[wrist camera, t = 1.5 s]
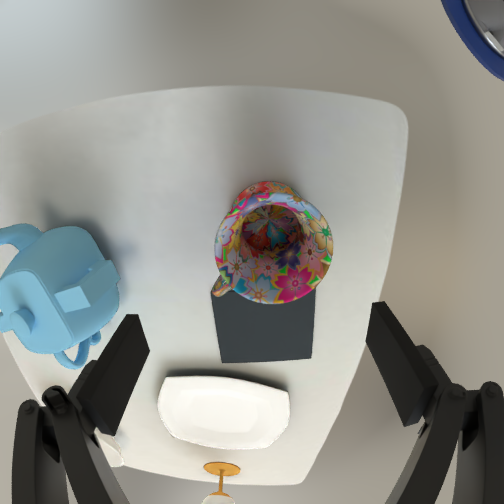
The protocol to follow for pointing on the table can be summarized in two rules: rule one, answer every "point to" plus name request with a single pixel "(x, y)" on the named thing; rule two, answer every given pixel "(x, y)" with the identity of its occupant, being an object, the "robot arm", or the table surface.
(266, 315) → the left mat
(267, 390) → the plate
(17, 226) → the teapot
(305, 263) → the mug
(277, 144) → the table surface
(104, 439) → the bowl
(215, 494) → the cup
